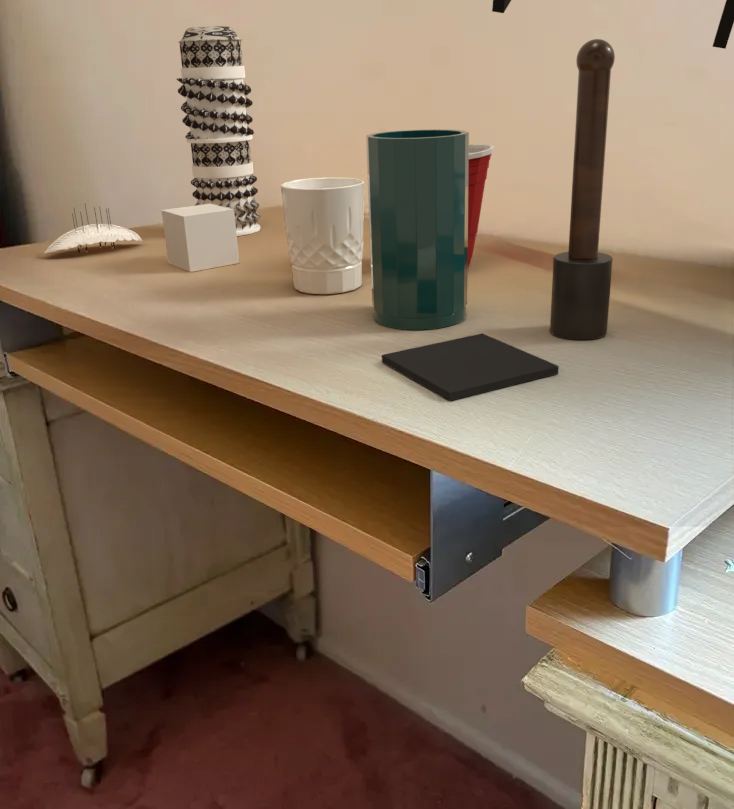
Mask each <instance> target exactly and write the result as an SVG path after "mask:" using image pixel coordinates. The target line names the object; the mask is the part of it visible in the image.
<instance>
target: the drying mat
mask: <svg viewBox="0 0 734 809" xmlns="http://www.w3.org/2000/svg"><path fill="white" fill-rule="evenodd" d="M381 362H382V363H383V364H384V365H386V366H388V367H390V368H391V369H393V370H395V371H396V372H398V373H400V374H402V375H403V376H405V377H407V378H409V379H411V380H413V381H414V382H415V383H417V384H419V385H421V386H423V387H424V388H426V389H428V390H429V391H432V392H433V393H435V394H436V395H438V396H440V397H442V398H444V399H445V400H447V401H449V402H452V401H455V400H461V399H463V398H468V397H471V396H476V395H479V394H483V393H487V392H491V391H494V390H499V389H503V388H508V387H511V386H516V385H519V384H524V383H527V382H531V381H535V380H539V379H543V378H546V377H550V376H555V375H558V374H559V370H560V369H559V365H557V364H555V363H553V362H550V361H548V360H546V359H543V358H541V357H539V356H536V355H534V354H532V353H529V352H528V351H526V350H523V349H520V348H518V347H516V346H514V345H511V344H509V343H506V342H504V341H501V340H499V339H497V338H494V337H492V336H489V335H488V334H485V333H477V334H472V335H467V336H463V337H459V338H453V339H449V340H444V341H440V342H435V343H431V344H426V345H422V346H417V347H412V348H408V349H402V350H398V351H393V352H389V353H383V354H381Z"/></svg>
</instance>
